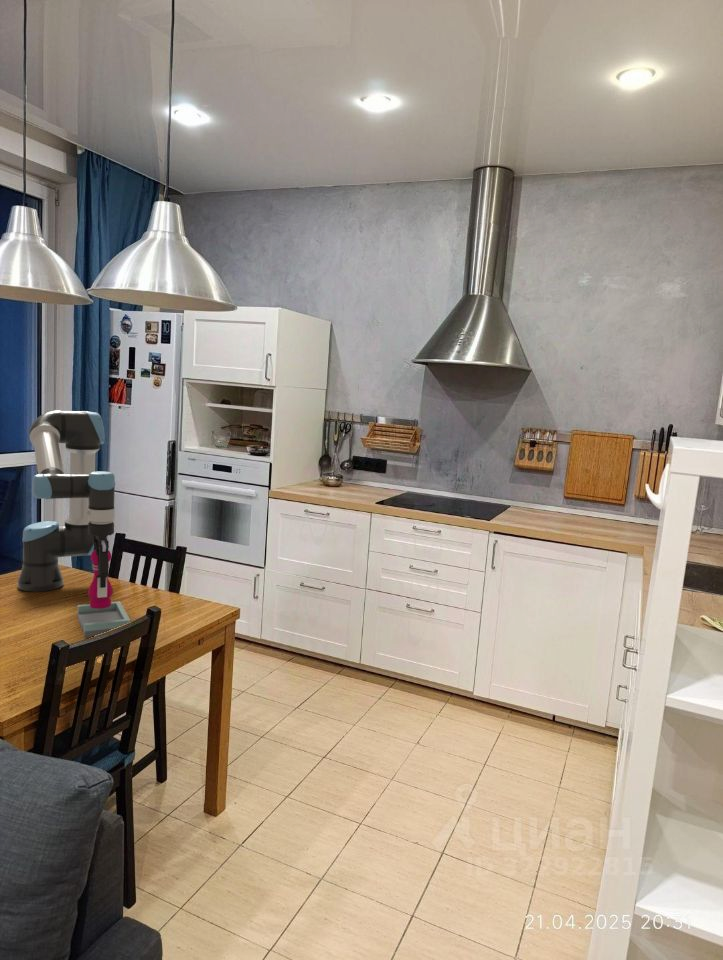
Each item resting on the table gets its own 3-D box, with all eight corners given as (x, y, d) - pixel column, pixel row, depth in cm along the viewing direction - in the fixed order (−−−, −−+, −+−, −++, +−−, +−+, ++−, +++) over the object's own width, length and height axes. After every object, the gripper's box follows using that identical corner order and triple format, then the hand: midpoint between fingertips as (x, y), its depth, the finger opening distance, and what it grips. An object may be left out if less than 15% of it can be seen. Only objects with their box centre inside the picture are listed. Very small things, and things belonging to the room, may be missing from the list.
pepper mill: (88, 610, 203) (88, 546, 200) (87, 602, 209) (88, 541, 207) (113, 608, 206) (114, 546, 203) (112, 601, 212) (113, 540, 210)
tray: (77, 617, 214) (77, 605, 213) (119, 612, 220) (119, 601, 220) (84, 637, 197) (85, 625, 197) (130, 632, 204) (130, 620, 203)
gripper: (84, 515, 211) (83, 585, 214) (92, 529, 193) (91, 604, 196) (109, 515, 214) (108, 583, 217) (119, 527, 197) (118, 601, 200)
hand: (100, 593), depth 207 cm, fingers closed on pepper mill, 7 cm apart
